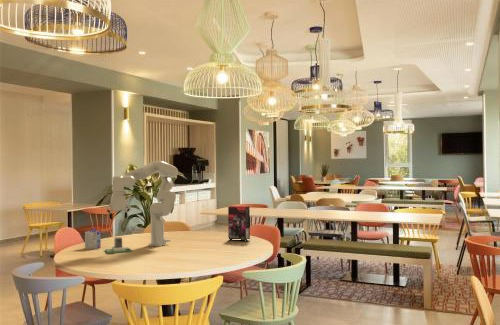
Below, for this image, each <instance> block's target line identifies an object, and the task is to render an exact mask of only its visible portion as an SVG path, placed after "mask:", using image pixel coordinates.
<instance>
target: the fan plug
mask: <svg viewBox="0 0 500 325" xmlns="http://www.w3.org/2000/svg"><path fill="white" fill-rule="evenodd" d="M114 246H115V248H119V247H122V246H123V238H122V237H119V236H118V237H114Z"/></svg>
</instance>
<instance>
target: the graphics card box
mask: <svg viewBox="0 0 500 325" xmlns="http://www.w3.org/2000/svg"><path fill="white" fill-rule="evenodd" d="M227 211H228V212H227V213H228V214H227V215H228V216H227V218H228V221H227V222H228V225H227V226H228V228H227V229H228V231H227V232H228V234H227V235H228V236H227V237H228V238H229V239H241V240H247V239H250V240H251V238H250V237H251V234H250V233H251V232H250V231H251V227H250V226H251V225H250V221H251V220H250V217H251V216H250V213H251V212H250V206H248V205H247V206H246V205H244V206H243V205H229V206H227Z"/></svg>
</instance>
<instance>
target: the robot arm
mask: <svg viewBox="0 0 500 325" xmlns="http://www.w3.org/2000/svg"><path fill="white" fill-rule="evenodd" d="M157 173H158V175H159V176H160V178H161V184H160V187H159V190H158V192H157V194H156V200H157V201H158V202H153V203H152V204H151V205H150V207H149V215H150V242H149V243H148V246H149V247H163V246H166V245H167V243H170V242H171V239H170V238H168V239H166V238H165V220H164V217H167V216H168V215H170V213H171V212H172V209H173V208H174V204H175V202H176V198H177V197H176V196H177V195H176V192H175V191H174V190H173V185H174V183H173V180H172V179H173V178H176V177H177V176H178V174H179V170H178V168H177V167H176V166H174V165H172V164H170V163H167V162H165V161H163V160H156V161H155V160H154V161H151V162H149V163H147V164H144V166H141V167H138V168H137V169H133V170H131V171H128V172H126V173H124V174H122V175H120V176H119V175H118V176H117V175H115V176H113V177H112V195H111V197H110V204H109V205H107V206H105V207H104V208H105V210H106V212H107V213H109V219H110V220H113V212H114V211H123V212H124V219H127V218H128V213H129V211H130V210H131V208H132V205H129V204H127V201H126V196H125V195H127V192H126V191H125V187H133V186H134V185H135V184H136V181H139V180H145V179H147V178H149V177H151V176H153V175H155V174H157ZM109 208H110V210H109ZM162 245H163V246H162Z"/></svg>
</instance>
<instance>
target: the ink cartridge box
mask: <svg viewBox="0 0 500 325" xmlns="http://www.w3.org/2000/svg"><path fill="white" fill-rule="evenodd" d="M101 234H102V231H101V230H97V227H91V229H90V230H88V231H84V249H86V250H88V249H89V250H92V249H93V250H97V249H101V247H102V246H101V245H102V244H101V242H102V240H101V239H102V238H101V236H102V235H101Z"/></svg>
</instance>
